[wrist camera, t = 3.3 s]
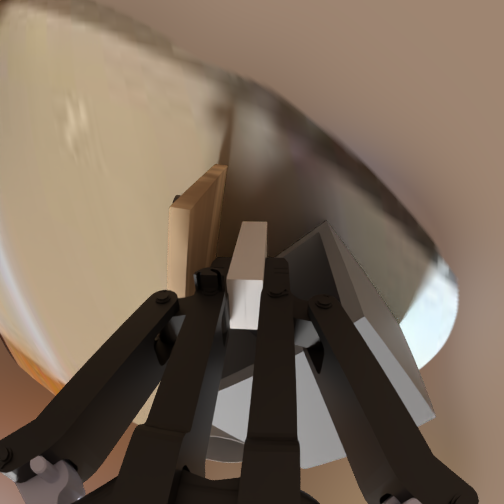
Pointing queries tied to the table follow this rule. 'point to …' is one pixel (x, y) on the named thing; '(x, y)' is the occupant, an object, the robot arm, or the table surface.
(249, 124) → the table surface
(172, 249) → the wooden cabinet door
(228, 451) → the cup
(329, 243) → the grey open box
